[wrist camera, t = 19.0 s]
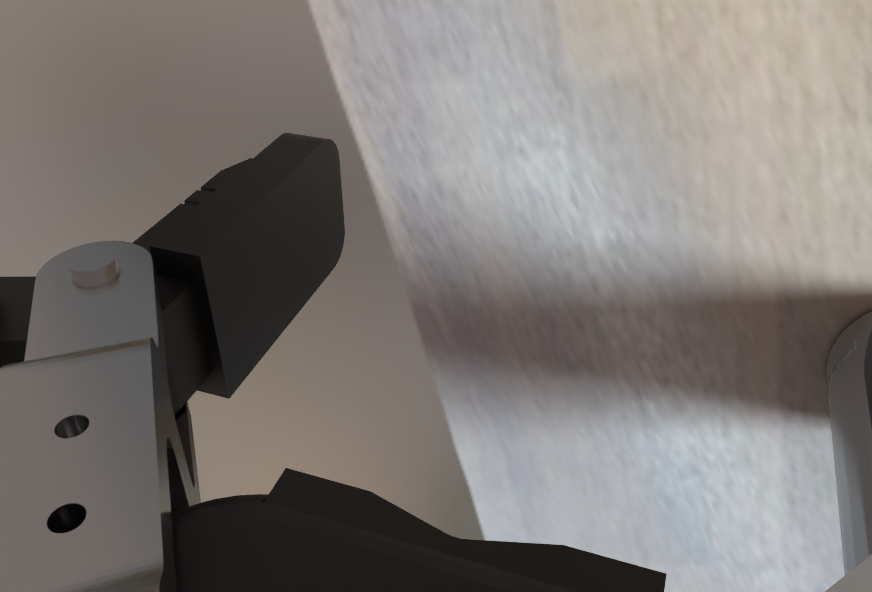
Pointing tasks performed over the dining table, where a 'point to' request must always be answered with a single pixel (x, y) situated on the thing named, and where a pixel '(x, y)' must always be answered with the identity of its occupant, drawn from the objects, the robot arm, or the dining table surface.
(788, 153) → the dining table surface
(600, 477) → the dining table surface
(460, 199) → the dining table surface
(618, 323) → the dining table surface
